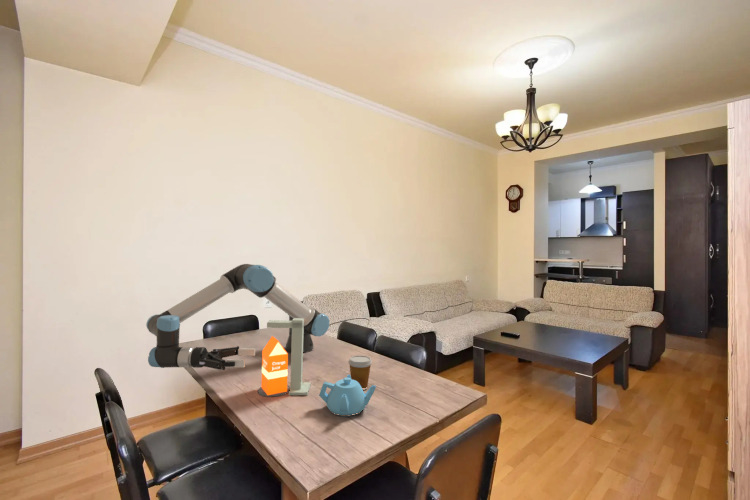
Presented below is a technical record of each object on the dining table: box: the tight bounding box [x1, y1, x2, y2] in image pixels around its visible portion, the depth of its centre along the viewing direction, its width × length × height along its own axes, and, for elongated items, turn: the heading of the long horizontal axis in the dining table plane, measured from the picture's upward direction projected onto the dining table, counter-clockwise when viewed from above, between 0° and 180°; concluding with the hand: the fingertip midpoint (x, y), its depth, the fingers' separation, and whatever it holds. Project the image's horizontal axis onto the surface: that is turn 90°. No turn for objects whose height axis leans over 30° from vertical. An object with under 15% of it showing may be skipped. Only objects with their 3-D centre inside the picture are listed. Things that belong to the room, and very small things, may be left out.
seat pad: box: [257, 384, 290, 398], centre depth 136 cm, size 12×12×1 cm
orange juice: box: [260, 335, 289, 395], centre depth 136 cm, size 8×9×20 cm
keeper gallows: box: [266, 318, 311, 396], centre depth 137 cm, size 16×10×28 cm, turn 94°
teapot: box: [318, 374, 377, 415], centre depth 123 cm, size 15×15×11 cm
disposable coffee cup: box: [347, 354, 373, 388], centre depth 141 cm, size 10×10×12 cm
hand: (250, 357), depth 136 cm, fingers open, 13 cm apart
